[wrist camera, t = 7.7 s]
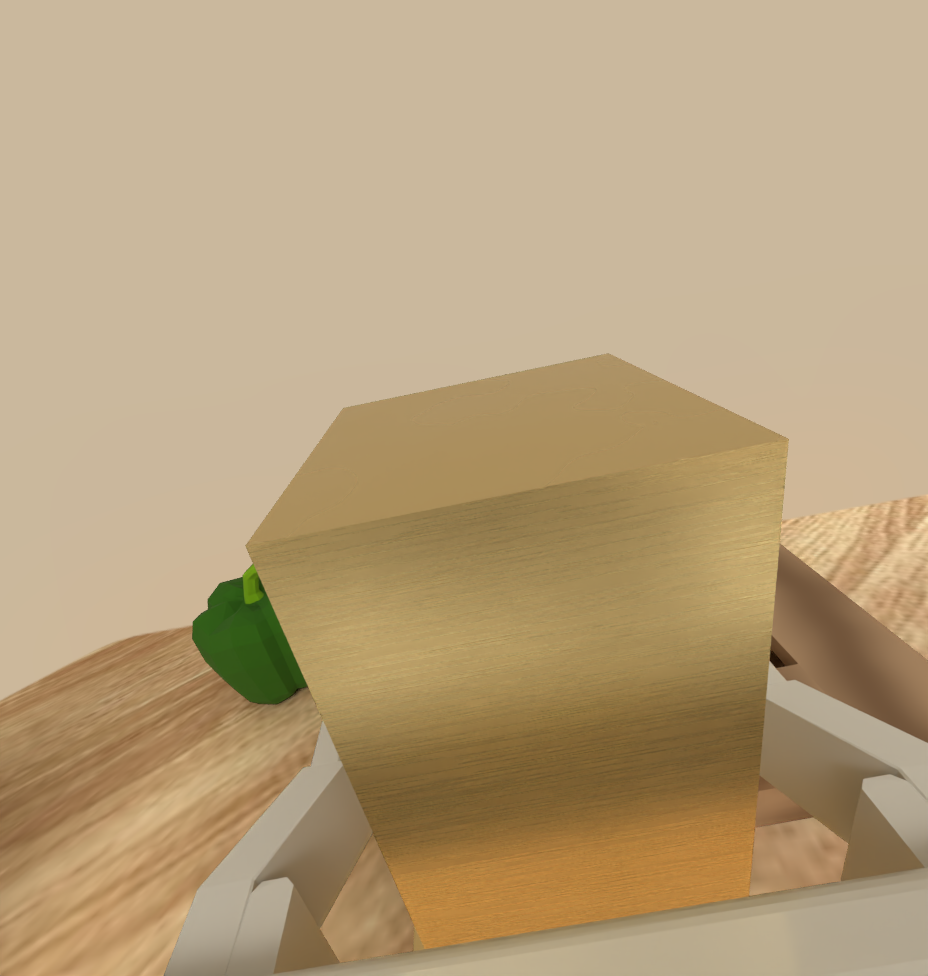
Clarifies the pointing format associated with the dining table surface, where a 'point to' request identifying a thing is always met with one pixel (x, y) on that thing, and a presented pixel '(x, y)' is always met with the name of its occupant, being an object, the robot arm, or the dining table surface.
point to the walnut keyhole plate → (840, 663)
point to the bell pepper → (247, 641)
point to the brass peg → (539, 639)
